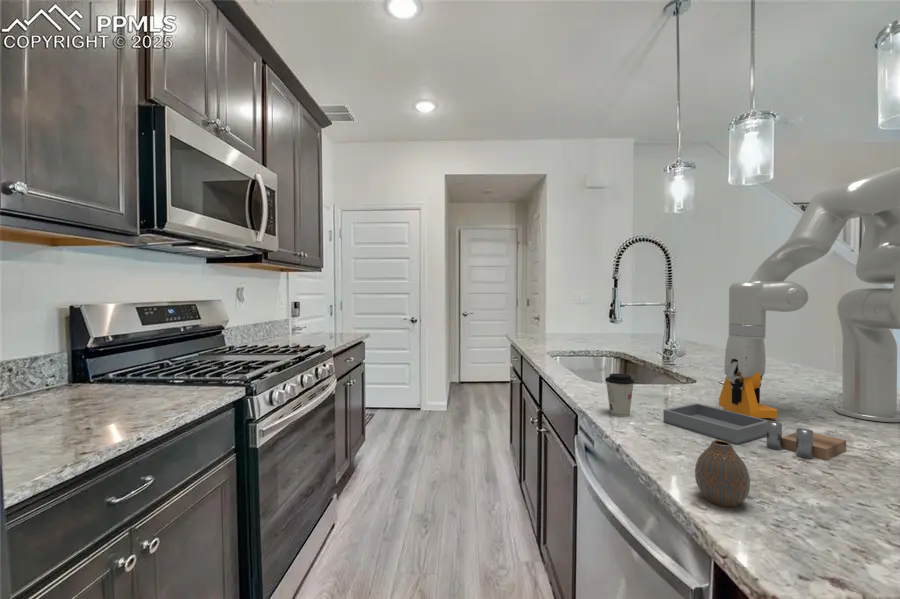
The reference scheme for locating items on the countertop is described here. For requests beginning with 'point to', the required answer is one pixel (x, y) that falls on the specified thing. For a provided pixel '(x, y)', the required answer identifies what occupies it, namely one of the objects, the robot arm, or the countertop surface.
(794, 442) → the tan slab
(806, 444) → the peg
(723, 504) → the vase
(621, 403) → the coffee cup
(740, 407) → the bracket
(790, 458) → the countertop surface
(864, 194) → the robot arm
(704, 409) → the tray
